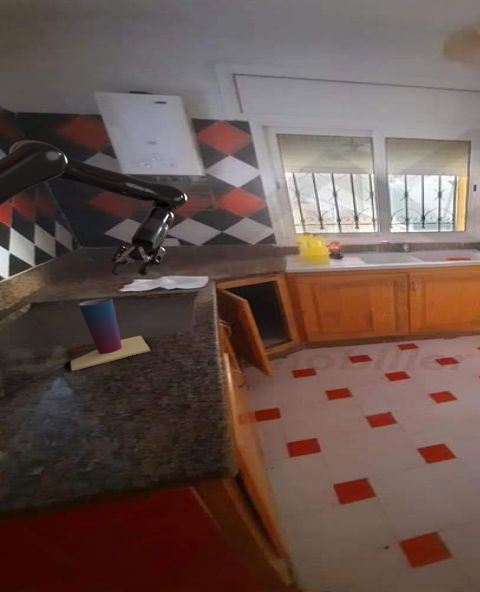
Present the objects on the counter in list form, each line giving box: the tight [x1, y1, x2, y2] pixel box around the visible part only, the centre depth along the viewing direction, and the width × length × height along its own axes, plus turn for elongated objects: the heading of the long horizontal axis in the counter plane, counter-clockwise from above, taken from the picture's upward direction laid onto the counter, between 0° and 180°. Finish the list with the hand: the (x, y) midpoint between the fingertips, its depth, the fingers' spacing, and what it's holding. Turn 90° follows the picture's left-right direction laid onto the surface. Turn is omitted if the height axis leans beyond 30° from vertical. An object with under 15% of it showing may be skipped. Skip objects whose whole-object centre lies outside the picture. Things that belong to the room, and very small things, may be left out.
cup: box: [78, 298, 122, 354], centre depth 92 cm, size 7×7×15 cm
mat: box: [70, 335, 151, 372], centre depth 93 cm, size 16×16×1 cm
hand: (128, 274), depth 99 cm, fingers open, 8 cm apart
